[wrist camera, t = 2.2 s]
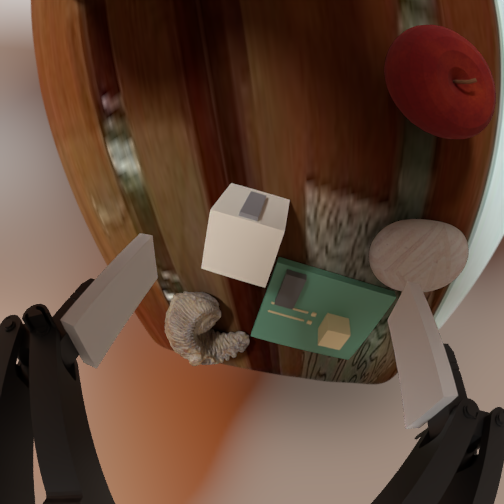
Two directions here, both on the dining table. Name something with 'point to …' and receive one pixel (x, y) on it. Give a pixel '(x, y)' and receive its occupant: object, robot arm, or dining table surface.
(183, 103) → the dining table surface
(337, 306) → the board
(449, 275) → the decorative stone
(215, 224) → the plug
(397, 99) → the apple
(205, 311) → the seashell
